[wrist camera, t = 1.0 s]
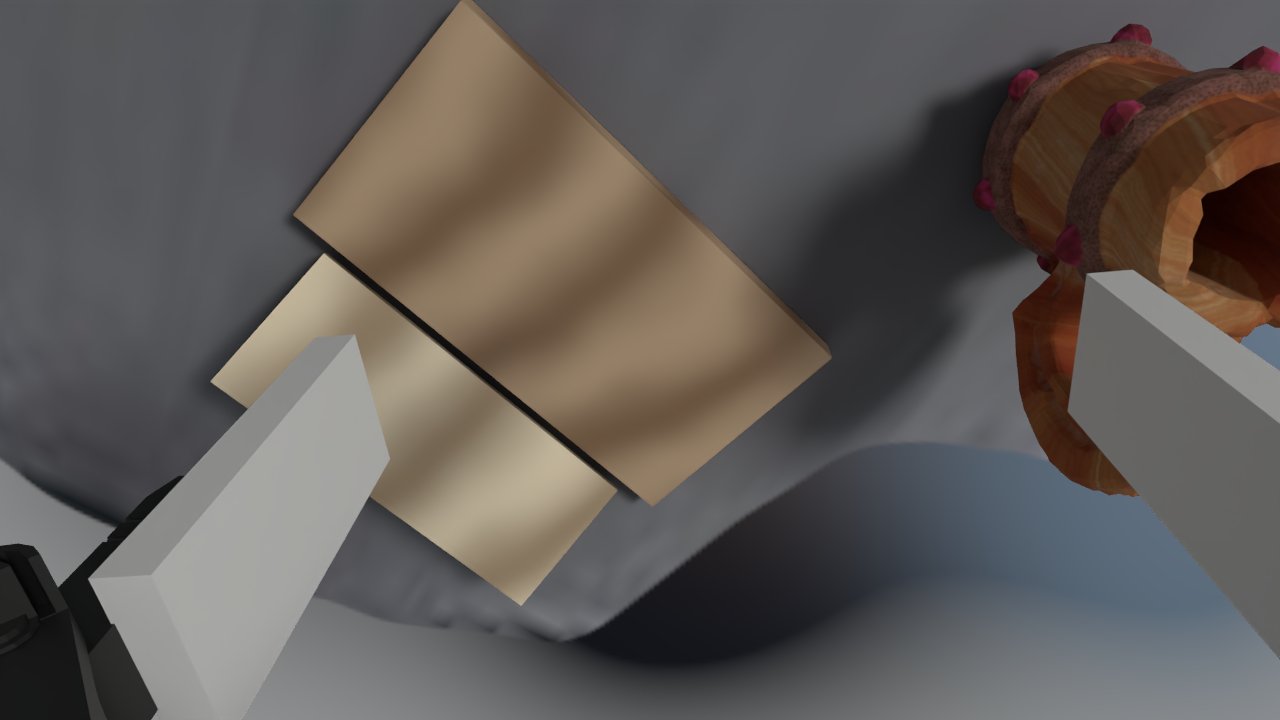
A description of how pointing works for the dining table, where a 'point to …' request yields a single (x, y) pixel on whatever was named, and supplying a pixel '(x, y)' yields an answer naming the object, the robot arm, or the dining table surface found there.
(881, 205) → the dining table surface
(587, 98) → the dining table surface
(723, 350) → the floorboard
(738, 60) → the dining table surface
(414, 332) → the plank
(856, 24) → the dining table surface
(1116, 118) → the mug
